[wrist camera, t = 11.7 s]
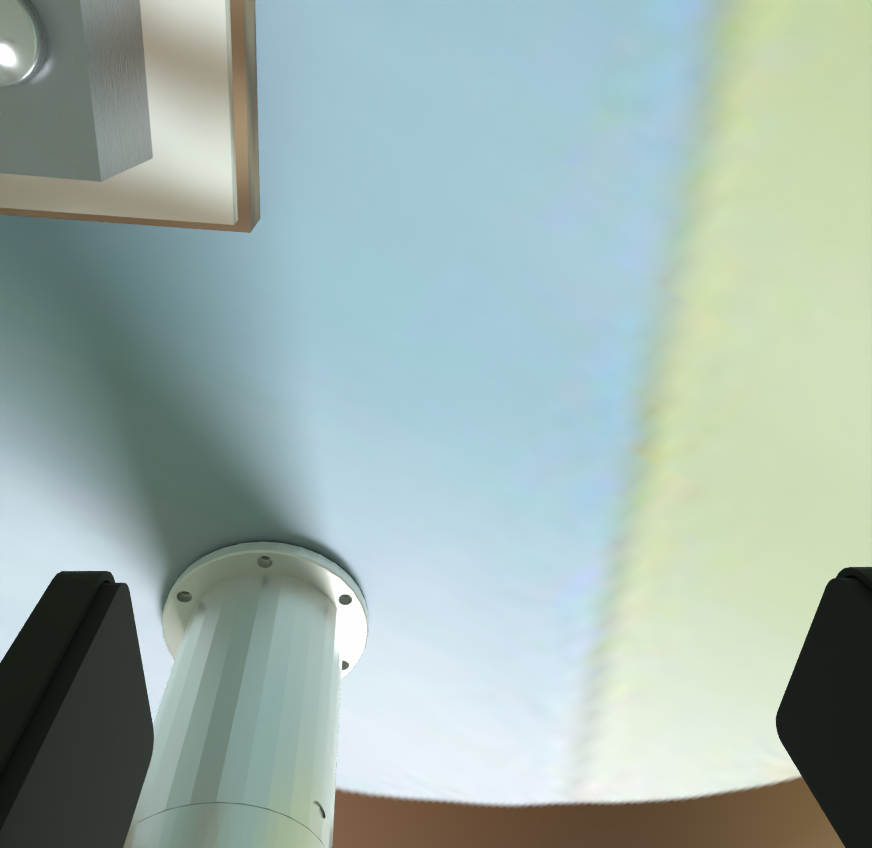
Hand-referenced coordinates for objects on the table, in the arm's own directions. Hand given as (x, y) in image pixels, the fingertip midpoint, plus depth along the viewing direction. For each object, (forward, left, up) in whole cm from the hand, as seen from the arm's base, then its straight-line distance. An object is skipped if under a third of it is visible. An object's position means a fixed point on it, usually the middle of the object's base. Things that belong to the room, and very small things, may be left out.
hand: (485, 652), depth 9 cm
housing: (+7, +13, -24) cm, 28 cm away
